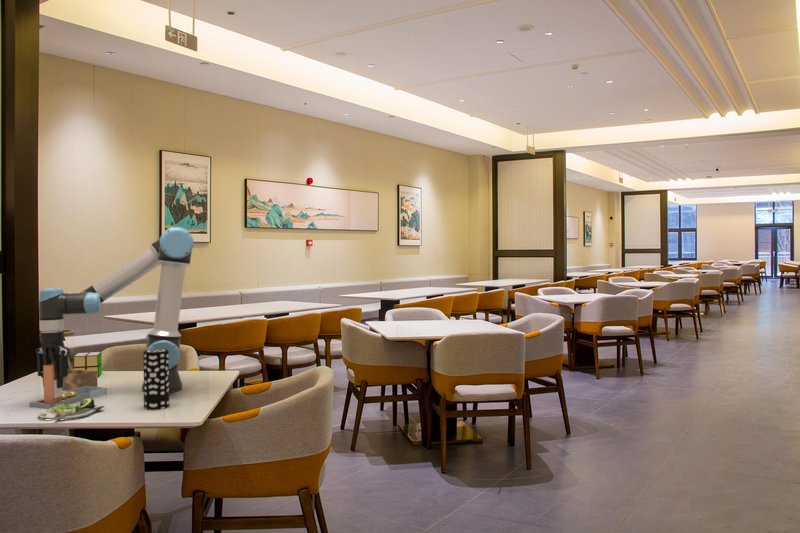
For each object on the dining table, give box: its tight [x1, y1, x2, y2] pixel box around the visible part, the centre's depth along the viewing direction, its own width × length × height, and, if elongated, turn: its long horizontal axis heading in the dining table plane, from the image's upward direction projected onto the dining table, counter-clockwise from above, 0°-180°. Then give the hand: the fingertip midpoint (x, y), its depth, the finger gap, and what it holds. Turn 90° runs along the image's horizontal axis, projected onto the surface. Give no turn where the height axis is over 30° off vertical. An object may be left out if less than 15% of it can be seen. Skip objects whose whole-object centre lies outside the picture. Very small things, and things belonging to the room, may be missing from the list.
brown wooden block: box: [62, 368, 98, 392], centre depth 253 cm, size 16×9×7 cm, turn 70°
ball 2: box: [67, 391, 77, 399], centre depth 232 cm, size 3×3×3 cm
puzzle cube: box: [72, 351, 103, 378], centre depth 281 cm, size 10×10×10 cm
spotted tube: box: [143, 349, 170, 411], centre depth 221 cm, size 8×8×20 cm
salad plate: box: [37, 398, 105, 420], centre depth 211 cm, size 19×18×5 cm
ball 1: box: [62, 392, 68, 400], centre depth 228 cm, size 3×3×3 cm
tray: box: [69, 386, 108, 399], centre depth 239 cm, size 10×8×3 cm
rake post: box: [43, 363, 62, 403], centre depth 224 cm, size 4×4×14 cm
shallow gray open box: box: [28, 392, 90, 410], centre depth 227 cm, size 10×17×2 cm, turn 160°
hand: (53, 396), depth 224 cm, fingers closed on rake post, 4 cm apart
